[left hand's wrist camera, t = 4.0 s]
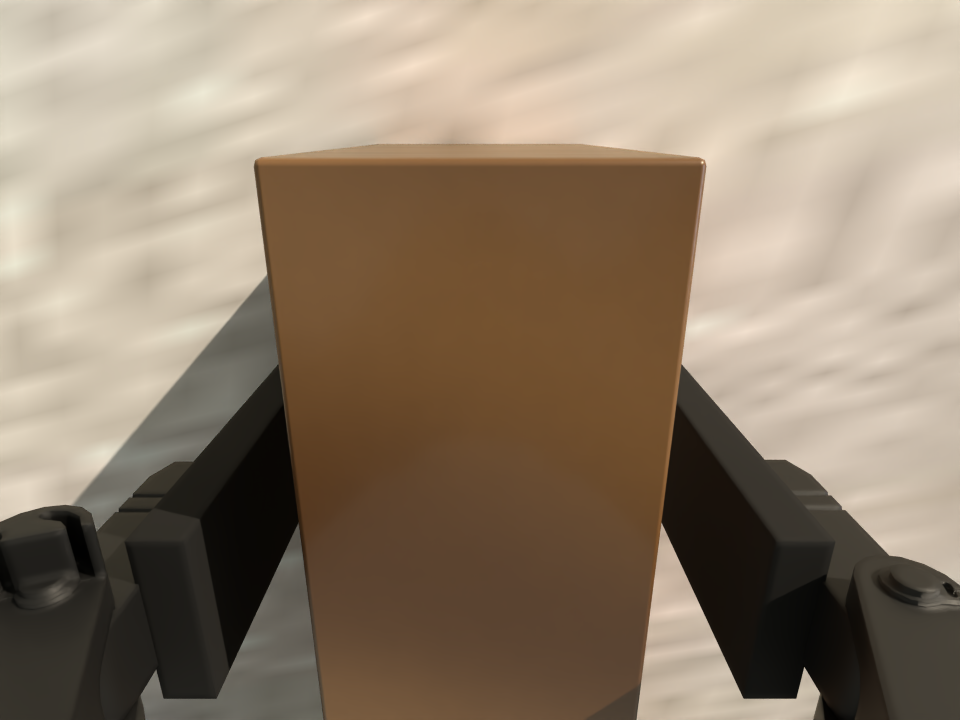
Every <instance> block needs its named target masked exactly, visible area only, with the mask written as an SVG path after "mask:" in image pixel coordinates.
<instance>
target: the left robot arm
mask: <svg viewBox="0 0 960 720" xmlns="http://www.w3.org/2000/svg"><path fill="white" fill-rule="evenodd" d="M298 522H299V520H298V512H297V504H296V497H295V489H294V481H293V473H292V465H291V457H290V449H289V441H288V433H287V425H286V417H285V409H284V402H283V394H282V386H281V378H280V370H279V364H278V365H277V367H276V368H275V369H274V370H273V371H272V372H271V374H270V375H269V376H268V377H267V378H266V379H265V380H264V382H263V383H262V384H261V385H260V386H259V387H258V388H257V390H256V391H255V392H254V393H253V394H252V395H251V397H250V398H249V399H248V400H247V401H246V402H245V403H244V405H243V406H242V407H241V408H240V409H239V410H238V411H237V413H236V414H235V415H234V416H233V417H232V418H231V420H230V421H229V422H228V423H227V424H226V425H225V426H224V428H223V429H222V430H221V431H220V432H219V433H218V434H217V436H216V437H215V438H214V439H213V440H212V441H211V443H210V444H209V445H208V446H207V447H206V448H205V449H204V451H203V452H202V453H201V454H200V455H199V456H198V457H197V459H196V460H195V461H194V462H174V463H172V464H171V465H169V466H167V467H165V468H164V469H162V470H160V471H159V472H157V473H155V474H153V475H152V476H150V477H149V478H148V479H147V480H146V481H145V482H144V483H143V484H142V485H141V486H140V487H139V488H138V489H137V490H136V491H135V492H134V493H133V497H132V498H129V499H128V500H127V501H126V502H125V503H124V504H123V505H122V506H121V507H120V508H119V512H115V513H114V514H113V515H112V516H111V517H110V518H109V520H108V521H107V522H106V523H105V524H104V525H103V526H102V527H101V528H100V529H99V530H98V531H97V532H96V529H95V525H94V522H93V518H92V514H91V513H90V512H88V511H87V510H85V509H84V508H82V507H77V506H69V505H60V506H50V507H43V508H39V509H35V510H31V511H28V512H24V513H20V514H18V515H16V516H13V517H11V518H9V519H6V520H4V521H2V522H0V720H145V714H144V708H143V704H142V700H141V696H140V695H141V693H142V692H143V690H144V688H145V687H146V685H147V683H148V682H149V680H150V678H151V677H152V675H153V673H154V672H155V670H157V674H158V678H159V682H160V686H161V690H162V694H163V698H164V699H216V698H217V696H218V694H219V692H220V690H221V688H222V685H223V683H224V681H225V679H226V677H227V675H228V673H229V670H230V668H231V666H232V664H233V662H234V660H235V658H236V655H237V653H238V651H239V649H240V647H241V645H242V642H243V640H244V638H245V636H246V634H247V632H248V630H249V627H250V625H251V623H252V621H253V619H254V617H255V615H256V612H257V610H258V608H259V606H260V604H261V602H262V600H263V597H264V595H265V593H266V591H267V589H268V587H269V585H270V582H271V580H272V578H273V576H274V574H275V572H276V570H277V567H278V565H279V563H280V561H281V559H282V557H283V554H284V552H285V550H286V548H287V546H288V544H289V542H290V539H291V537H292V535H293V533H294V531H295V529H296V527H297V524H298ZM661 522H662V524H663V527H664V529H665V531H666V533H667V535H668V537H669V539H670V542H671V544H672V546H673V548H674V550H675V552H676V554H677V557H678V559H679V561H680V563H681V565H682V567H683V569H684V572H685V574H686V576H687V578H688V580H689V582H690V585H691V587H692V589H693V591H694V593H695V595H696V597H697V600H698V602H699V604H700V606H701V608H702V610H703V612H704V615H705V617H706V619H707V621H708V623H709V625H710V627H711V630H712V632H713V634H714V636H715V638H716V640H717V642H718V645H719V647H720V649H721V651H722V653H723V655H724V657H725V660H726V662H727V664H728V666H729V668H730V670H731V673H732V675H733V677H734V679H735V681H736V683H737V685H738V688H739V690H740V692H741V694H742V696H743V698H744V699H796V698H797V694H798V690H799V686H800V682H801V678H802V674H803V670H804V667H805V669H806V670H807V672H808V674H809V675H810V677H811V678H812V680H813V682H814V683H815V685H816V687H817V688H818V690H819V692H820V696H819V700H818V704H817V707H816V711H815V715H814V719H813V720H960V585H958V584H957V583H956V582H954V581H953V580H952V579H950V578H949V577H948V576H946V575H945V574H943V573H941V572H939V571H937V570H935V569H933V568H931V567H929V566H927V565H924V564H922V563H919V562H915V561H912V560H909V559H905V558H902V557H896V556H889V555H888V554H887V553H886V552H885V551H884V550H883V549H882V548H881V547H880V546H879V545H878V544H877V543H876V542H875V540H874V539H873V538H872V537H871V536H870V535H869V534H868V533H867V532H866V531H865V530H864V529H863V528H862V527H861V526H860V525H859V524H858V523H857V522H856V521H855V520H854V519H853V518H852V517H851V516H850V515H849V514H848V513H847V512H846V510H842V506H841V505H840V504H839V503H838V502H837V501H836V500H835V499H834V498H833V497H832V496H828V492H827V491H826V490H825V489H824V488H823V487H822V486H821V485H820V484H819V483H818V482H817V481H816V479H815V478H814V477H813V476H812V475H811V474H809V473H807V472H805V471H804V470H802V469H800V468H798V467H797V466H795V465H793V464H792V463H790V462H788V461H786V460H764V459H763V457H762V456H761V455H760V454H759V453H758V452H757V451H756V449H755V448H754V447H753V446H752V445H751V444H750V442H749V441H748V440H747V439H746V438H745V437H744V436H743V434H742V433H741V432H740V431H739V430H738V429H737V428H736V426H735V425H734V424H733V423H732V422H731V421H730V420H729V418H728V417H727V416H726V415H725V414H724V413H723V411H722V410H721V409H720V408H719V407H718V406H717V405H716V403H715V402H714V401H713V400H712V399H711V398H710V397H709V395H708V394H707V393H706V392H705V391H704V390H703V388H702V387H701V386H700V385H699V384H698V383H697V382H696V380H695V379H694V378H693V377H692V376H691V375H690V374H689V372H688V371H687V370H686V369H685V368H684V367H683V365H682V364H681V371H680V379H679V387H678V394H677V402H676V410H675V418H674V426H673V434H672V442H671V450H670V458H669V466H668V474H667V482H666V489H665V497H664V505H663V513H662V521H661Z"/></svg>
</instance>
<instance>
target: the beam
mask: <svg viewBox="0 0 960 720" xmlns="http://www.w3.org/2000/svg"><path fill="white" fill-rule="evenodd" d="M254 172H255V180H256V188H257V196H258V203H259V211H260V219H261V227H262V235H263V243H264V251H265V259H266V267H267V275H268V283H269V291H270V299H271V306H272V314H273V322H274V330H275V338H276V346H277V354H278V362H279V370H280V378H281V386H282V394H283V402H284V409H285V417H286V425H287V433H288V441H289V449H290V457H291V465H292V473H293V481H294V489H295V497H296V504H297V512H298V520H299V528H300V536H301V544H302V552H303V560H304V568H305V576H306V584H307V592H308V600H309V607H310V615H311V623H312V631H313V639H314V647H315V655H316V663H317V671H318V679H319V687H320V695H321V703H322V710H323V718H324V720H636V719H637V711H638V703H639V695H640V687H641V680H642V672H643V664H644V656H645V648H646V640H647V632H648V624H649V616H650V608H651V600H652V592H653V584H654V577H655V569H656V561H657V553H658V545H659V537H660V529H661V521H662V513H663V505H664V497H665V489H666V482H667V474H668V466H669V458H670V450H671V442H672V434H673V426H674V418H675V410H676V402H677V394H678V387H679V379H680V371H681V363H682V355H683V347H684V339H685V331H686V323H687V315H688V307H689V299H690V291H691V284H692V276H693V268H694V260H695V252H696V244H697V236H698V228H699V220H700V212H701V204H702V196H703V189H704V181H705V173H706V163H705V160H703V159H701V158H699V157H690V156H681V155H672V154H663V153H655V152H646V151H637V150H628V149H619V148H610V147H602V146H593V145H584V144H376V145H367V146H359V147H350V148H341V149H332V150H323V151H314V152H306V153H297V154H288V155H279V156H270V157H261V158H259V159H257V160H255V164H254Z"/></svg>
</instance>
